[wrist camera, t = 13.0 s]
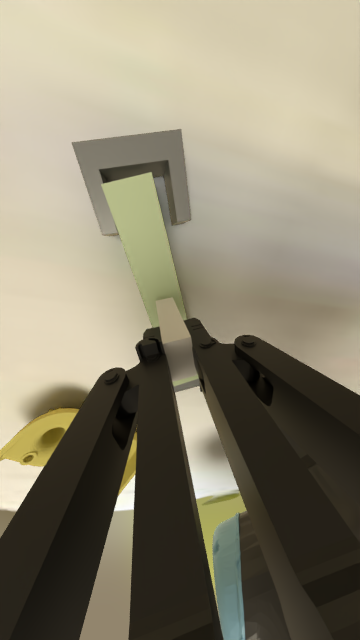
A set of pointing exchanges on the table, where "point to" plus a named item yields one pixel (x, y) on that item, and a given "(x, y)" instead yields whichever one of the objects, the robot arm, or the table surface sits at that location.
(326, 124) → the table surface
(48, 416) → the plastic component
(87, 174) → the end caps
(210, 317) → the table surface
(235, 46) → the table surface
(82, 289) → the table surface
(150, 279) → the slat
